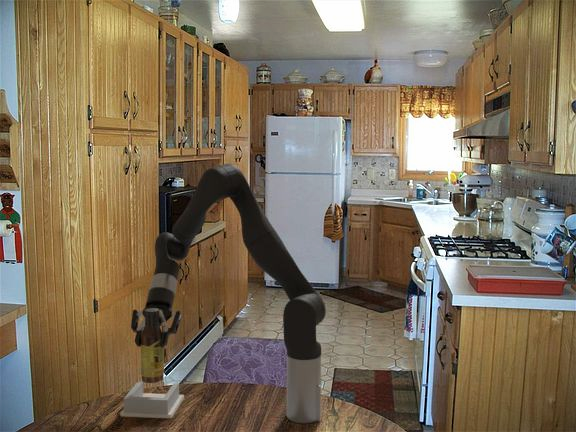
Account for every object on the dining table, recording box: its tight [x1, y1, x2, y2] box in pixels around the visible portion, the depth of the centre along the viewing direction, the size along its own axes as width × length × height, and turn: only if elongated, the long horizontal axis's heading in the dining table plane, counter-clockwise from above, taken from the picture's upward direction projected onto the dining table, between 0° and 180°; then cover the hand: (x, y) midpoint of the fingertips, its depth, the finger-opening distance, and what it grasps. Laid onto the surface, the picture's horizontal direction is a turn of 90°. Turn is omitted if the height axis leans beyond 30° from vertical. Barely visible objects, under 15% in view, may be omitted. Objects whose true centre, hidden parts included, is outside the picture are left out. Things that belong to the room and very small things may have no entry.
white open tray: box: [120, 381, 185, 419], centre depth 163 cm, size 14×13×5 cm
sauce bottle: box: [140, 308, 165, 384], centre depth 161 cm, size 6×6×20 cm
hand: (150, 345), depth 160 cm, fingers closed on sauce bottle, 6 cm apart
